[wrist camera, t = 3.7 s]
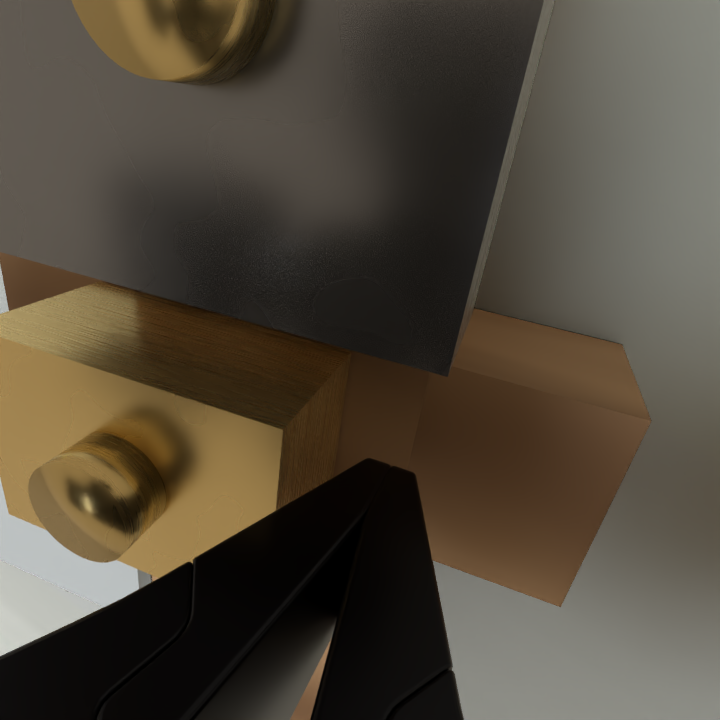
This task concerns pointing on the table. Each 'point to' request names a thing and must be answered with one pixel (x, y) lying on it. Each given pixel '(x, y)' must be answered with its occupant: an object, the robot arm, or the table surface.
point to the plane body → (477, 440)
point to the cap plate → (271, 155)
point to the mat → (64, 562)
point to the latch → (158, 423)
